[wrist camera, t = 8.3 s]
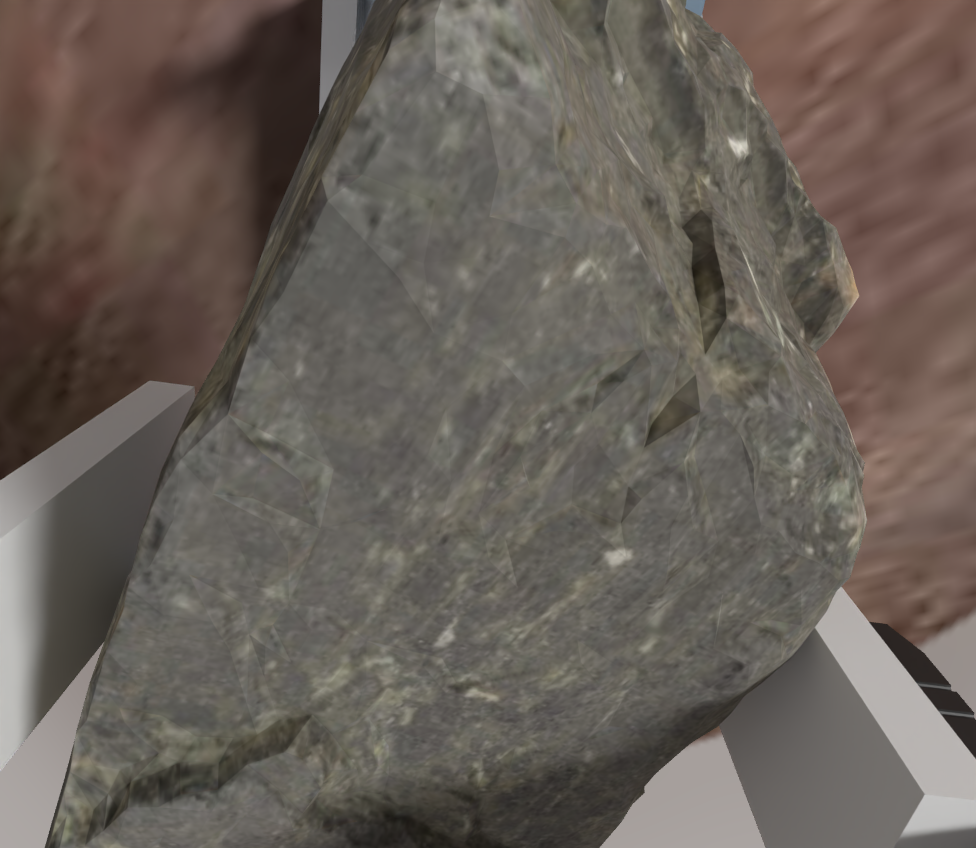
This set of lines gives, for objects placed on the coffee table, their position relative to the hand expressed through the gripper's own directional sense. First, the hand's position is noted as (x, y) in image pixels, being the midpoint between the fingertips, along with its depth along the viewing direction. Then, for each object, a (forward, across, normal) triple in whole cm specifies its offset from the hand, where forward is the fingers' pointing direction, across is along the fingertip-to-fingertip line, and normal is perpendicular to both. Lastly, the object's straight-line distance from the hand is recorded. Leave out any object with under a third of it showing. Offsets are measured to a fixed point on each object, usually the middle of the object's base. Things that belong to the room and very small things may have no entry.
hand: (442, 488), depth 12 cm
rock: (+1, 0, +1) cm, 1 cm away
